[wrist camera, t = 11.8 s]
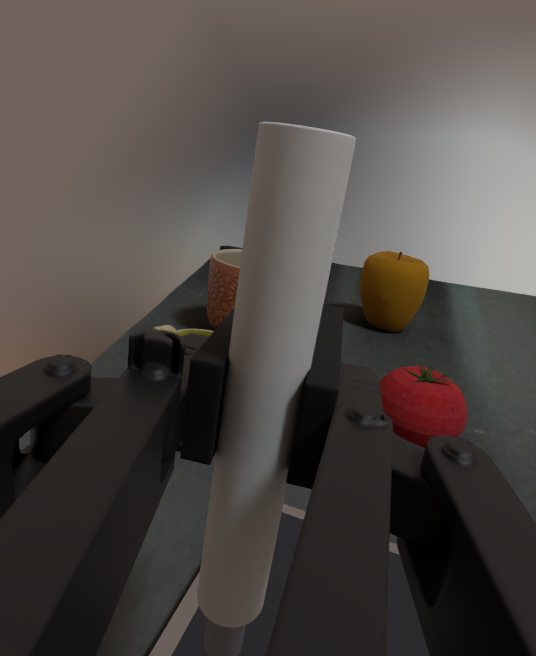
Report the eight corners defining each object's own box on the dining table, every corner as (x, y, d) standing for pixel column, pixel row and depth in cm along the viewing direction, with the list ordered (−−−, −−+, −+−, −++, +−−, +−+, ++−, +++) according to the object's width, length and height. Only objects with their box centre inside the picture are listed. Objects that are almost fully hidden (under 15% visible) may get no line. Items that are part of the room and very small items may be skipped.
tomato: (442, 425, 50) (465, 357, 47) (465, 477, 42) (493, 398, 39) (360, 409, 50) (377, 341, 48) (366, 457, 42) (387, 378, 39)
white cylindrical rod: (178, 658, 14) (244, 117, 9) (208, 604, 16) (277, 128, 11) (239, 688, 14) (346, 131, 8) (263, 629, 15) (363, 140, 10)
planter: (187, 340, 61) (195, 258, 57) (221, 314, 72) (230, 244, 69) (278, 363, 58) (292, 279, 55) (298, 333, 70) (312, 261, 66)
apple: (343, 312, 83) (358, 240, 79) (400, 318, 85) (418, 248, 81) (361, 335, 73) (380, 254, 69) (425, 341, 75) (448, 263, 71)
